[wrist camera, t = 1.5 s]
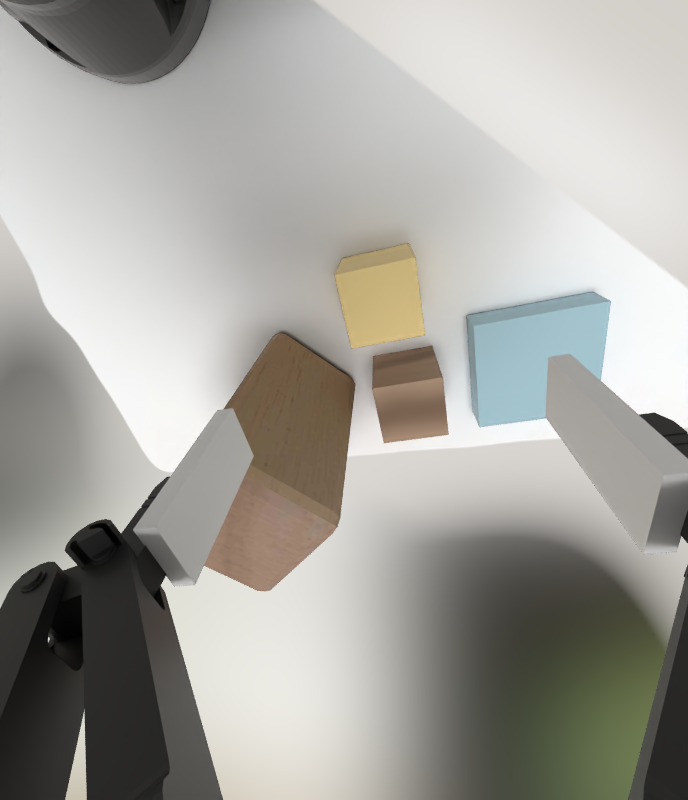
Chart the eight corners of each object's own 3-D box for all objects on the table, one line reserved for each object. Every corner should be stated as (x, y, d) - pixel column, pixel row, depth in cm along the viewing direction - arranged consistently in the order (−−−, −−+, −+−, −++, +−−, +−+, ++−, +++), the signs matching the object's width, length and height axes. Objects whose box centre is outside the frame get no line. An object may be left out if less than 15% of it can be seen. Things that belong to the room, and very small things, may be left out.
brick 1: (342, 258, 34) (334, 275, 28) (408, 243, 32) (415, 257, 26) (355, 321, 36) (351, 348, 30) (417, 309, 35) (425, 335, 29)
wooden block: (235, 393, 42) (136, 541, 25) (279, 325, 37) (196, 449, 20) (309, 438, 44) (266, 601, 27) (359, 379, 40) (345, 531, 22)
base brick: (466, 315, 35) (473, 326, 33) (592, 291, 33) (611, 301, 31) (472, 411, 40) (479, 427, 38) (582, 396, 38) (596, 411, 36)
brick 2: (373, 355, 38) (372, 388, 32) (432, 345, 37) (442, 377, 31) (383, 404, 41) (384, 443, 35) (437, 396, 40) (448, 434, 34)
